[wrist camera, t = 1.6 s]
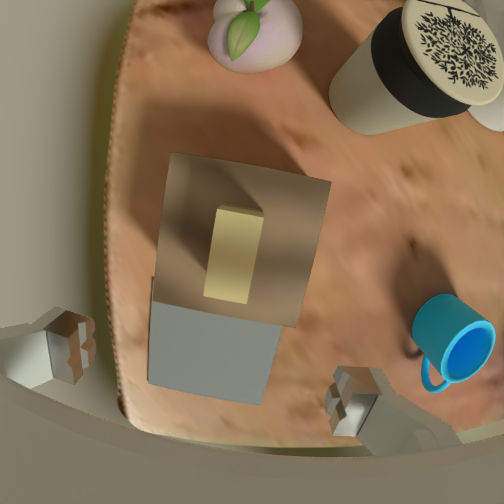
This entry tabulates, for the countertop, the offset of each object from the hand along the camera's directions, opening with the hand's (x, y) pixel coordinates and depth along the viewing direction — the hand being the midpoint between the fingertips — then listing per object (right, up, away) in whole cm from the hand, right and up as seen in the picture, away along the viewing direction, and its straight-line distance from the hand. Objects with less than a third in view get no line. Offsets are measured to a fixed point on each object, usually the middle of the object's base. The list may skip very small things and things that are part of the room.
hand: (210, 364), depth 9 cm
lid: (0, +4, +16) cm, 16 cm away
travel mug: (+13, +20, +19) cm, 30 cm away
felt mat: (-4, -8, +26) cm, 28 cm away
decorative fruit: (+2, +25, +18) cm, 31 cm away
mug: (+25, -7, +26) cm, 37 cm away
